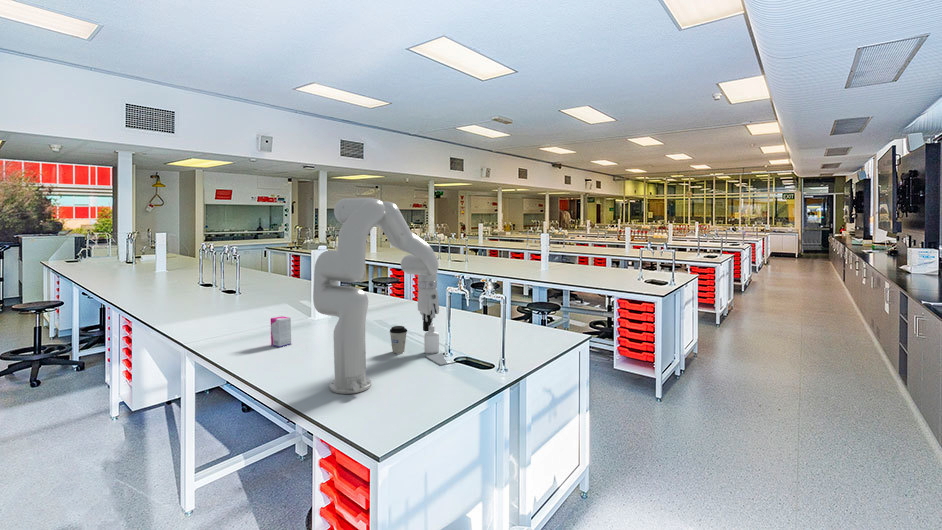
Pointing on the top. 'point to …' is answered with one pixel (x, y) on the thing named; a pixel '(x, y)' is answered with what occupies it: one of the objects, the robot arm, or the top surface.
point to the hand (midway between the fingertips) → (427, 330)
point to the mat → (437, 358)
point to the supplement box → (280, 331)
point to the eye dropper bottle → (431, 340)
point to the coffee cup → (398, 338)
